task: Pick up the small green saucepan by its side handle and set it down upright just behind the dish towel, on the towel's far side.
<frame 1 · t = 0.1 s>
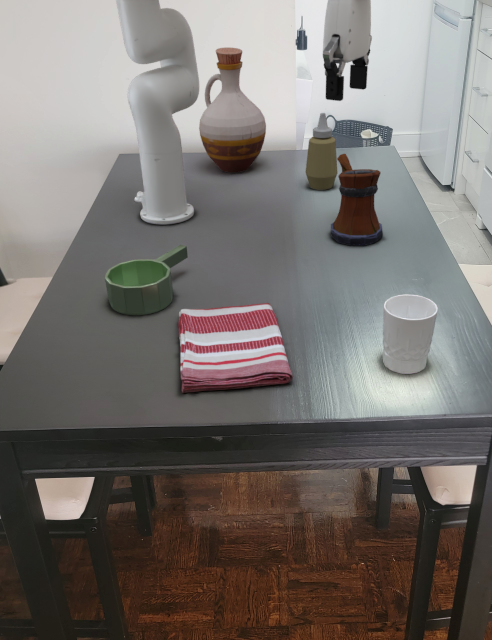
hand: (346, 94, 125), 31 cm above the table, tool pointing down, fingers open, 9 cm apart
dish towel: (231, 350, 113), on the table
squeeze bottle: (321, 187, 176), on the table
green saucepan: (141, 300, 128), on the table
mug: (351, 231, 152), on the table
jug: (232, 168, 191), on the table
white cup: (404, 363, 109), on the table
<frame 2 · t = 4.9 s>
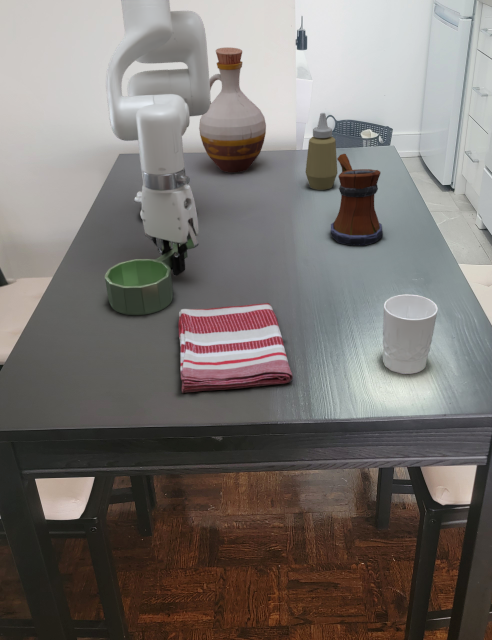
hand: (174, 271, 134), 2 cm above the table, tool pointing down, fingers closed on green saucepan
green saucepan: (141, 300, 128), on the table, touching gripper
everything else where it was.
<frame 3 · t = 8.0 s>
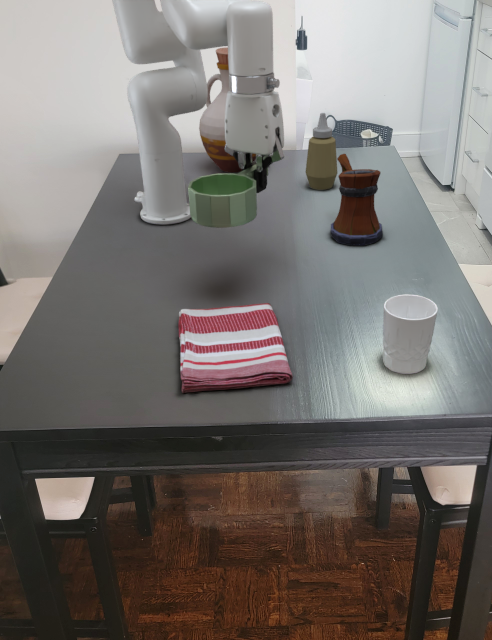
hand: (255, 189, 127), 17 cm above the table, tool pointing down, fingers closed on green saucepan
green saucepan: (224, 215, 121), point 15 cm above the table, touching gripper
everything else where it was.
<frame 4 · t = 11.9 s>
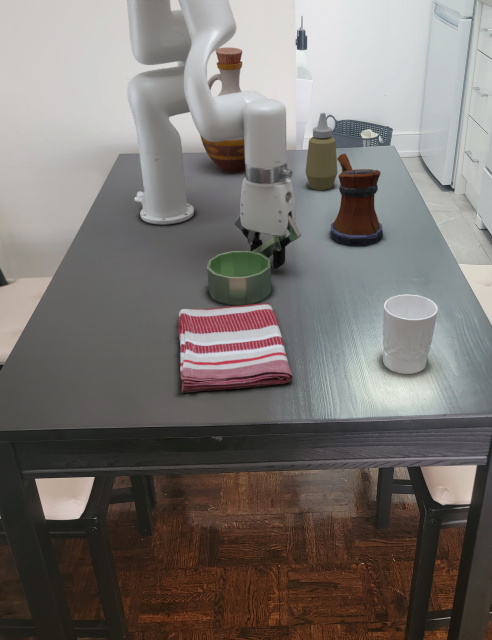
hand: (267, 263, 136), 1 cm above the table, tool pointing down, fingers open, 4 cm apart
green saucepan: (240, 290, 130), on the table
everything else where it was.
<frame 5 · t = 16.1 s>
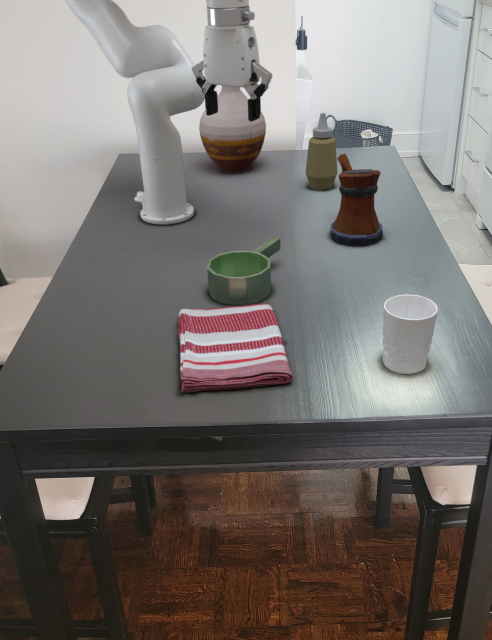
hand: (233, 116, 133), 26 cm above the table, tool pointing down, fingers open, 9 cm apart
nothing on the table moved.
at the end: green saucepan inside the target area on the table beside the dish towel (0.6 cm from its centre), on the table; green saucepan tilted 0°; the gripper is holding nothing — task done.
